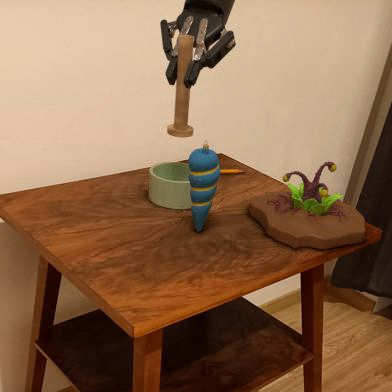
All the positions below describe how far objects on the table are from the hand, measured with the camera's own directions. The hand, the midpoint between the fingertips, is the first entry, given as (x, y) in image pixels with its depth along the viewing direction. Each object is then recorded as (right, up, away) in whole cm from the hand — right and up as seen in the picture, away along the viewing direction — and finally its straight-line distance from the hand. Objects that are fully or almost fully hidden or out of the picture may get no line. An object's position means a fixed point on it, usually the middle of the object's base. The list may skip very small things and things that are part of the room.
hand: (178, 83), depth 88 cm
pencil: (+4, -6, +25) cm, 27 cm away
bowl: (-1, -15, +14) cm, 20 cm away
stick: (0, -5, +7) cm, 9 cm away
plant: (+23, -21, +10) cm, 33 cm away
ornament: (+3, -23, +4) cm, 24 cm away
